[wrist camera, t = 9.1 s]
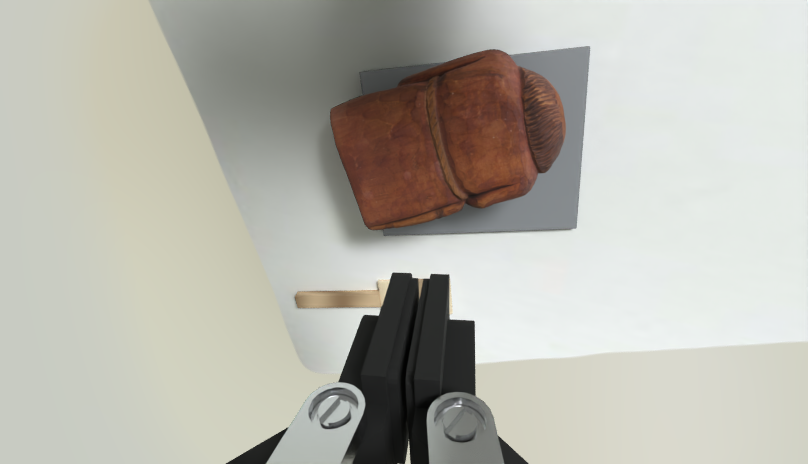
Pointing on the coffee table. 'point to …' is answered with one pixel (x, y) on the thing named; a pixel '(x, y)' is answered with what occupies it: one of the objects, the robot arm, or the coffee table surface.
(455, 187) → the wooden figurine
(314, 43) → the coffee table surface
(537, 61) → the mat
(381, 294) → the turner
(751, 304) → the coffee table surface
